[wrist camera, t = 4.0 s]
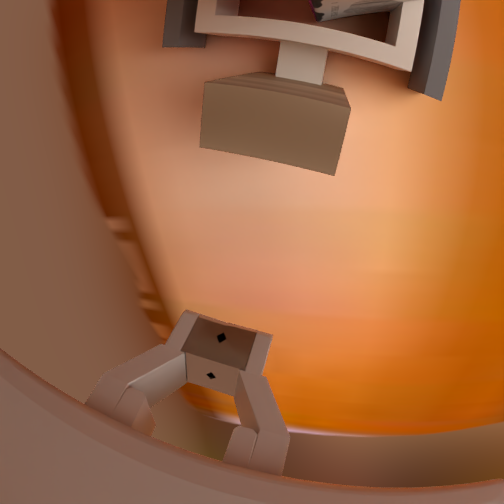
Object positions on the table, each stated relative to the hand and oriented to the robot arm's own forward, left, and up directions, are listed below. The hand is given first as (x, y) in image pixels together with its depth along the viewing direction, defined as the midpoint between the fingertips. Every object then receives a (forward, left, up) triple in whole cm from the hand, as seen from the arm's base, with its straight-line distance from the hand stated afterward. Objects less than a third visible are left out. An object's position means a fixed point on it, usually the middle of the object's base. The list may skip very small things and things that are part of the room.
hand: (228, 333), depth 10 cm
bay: (-22, 0, -9) cm, 24 cm away
